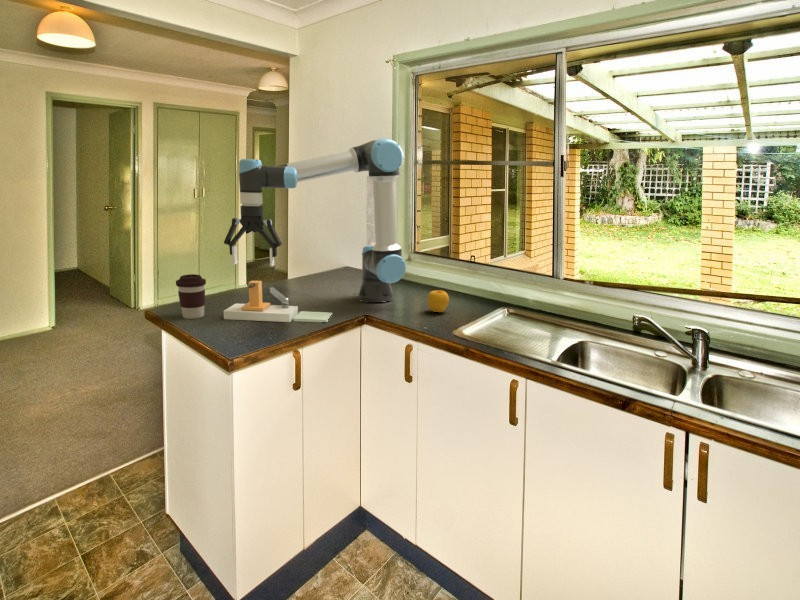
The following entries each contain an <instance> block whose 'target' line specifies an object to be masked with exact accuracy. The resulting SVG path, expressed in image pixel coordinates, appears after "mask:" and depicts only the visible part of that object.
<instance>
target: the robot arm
mask: <svg viewBox="0 0 800 600" xmlns="http://www.w3.org/2000/svg"><path fill="white" fill-rule="evenodd" d="M403 159H404V153H403V150H402V148H401V146H400V145H399V144H398V142H396V141H395V140H394V139H390V138H379V139H375V140H370V141H368V142H365V143H363V144H361V145H357V146H352V147H350V148H349V149H348V150H347V151H341V152H337V153H332V154H327V155H322V156H317V157H313V158H312V157H311V158H307V159H303V160H299V161H294V162H288V163H283V164H279V165H270V166H269V165H263V164H262V160H260V159H255V158H254V159H252V158H242V159H240V160H239V162H238V179H239V183H238V184H239V203H240V204H241V205H240V218H237V217H234V218H231V225H230V228H229V230H228V232H227V233H226V236H225V239H224V240H223V244H224V245H228V246H229V254H230V256H232V266H235V265H237V264H238V263H239V261H238V245H236V244H237V243H238V241H239V240H240V239H241V238H242V236H243V235H244V233H246V232H247V233H251V232H252V233H259V234H260V235H261V236H262V237H263V238H264V240H265V241H266V242H267V243H268V245H269V246H270V247H269V267H275V258H276V257H277V256H278V254H277V253H278V252H277V251H278V249H277V248H278V247H281V246H282V245H283V242H282V241H281V238H280V237H279V235H278V232H277V231H276V229H275V227H274V224H273V220H272V219H271V218H270V219H264V207H263V206H262V205H263V203H264V202H263V201H264V199H263V189H264V188H265V189H287V190H288V189H289V190H290V189H296V187H297V185H298V183H301V182H307V181H311V180H315V179H319V178H324V177H329V176H333V175H338V174H343V173H348V172H355V173H360V172H368V178H369V179H370V180H371V181H372V186H373V187H372V189H373V190H372V191H373V212H374V213H373V214H374V235H375V236H374V238H375V239H374V241H375V244H374V245H365V246H363V247H362V253H361V255H362V257H361V258H362V261H361V262H362V264H361V265H362V266H361V267H362V268H361V269H362V270H361V271H362V272H361V275H362V276H361V279H362V280H361V283H360V285H359V286H360V287H359V290H358V292H357V300H358V299H360V300H362V301H361V302H363V301H369V302H382V301H390V300H392V299H393V300H394V293H393V288H392V286H391V284H393V283H396V282H397V283H398V282H399V281H400V280H401V279H402V278H403V277H404V276H405V275H406V274H405V273H406V270H407V264H406V262H405V260H404V258H403V255H402V246H401V245H399V243H398V221H397V190H396V189H397V188H396V187H397V186H396V185H397V183H396V181H397V180H398V178H399V177H400V167H401V165H402V163H403ZM239 224H240V225H241V228H240V229H239V231H237V233H236V234H235V231H236V229H237V227H238V226H239ZM264 225H265V226H266V227H267V229H268V231H269V233H268V232H267V231H266V229H265V228H264ZM234 234H235V236H234ZM269 234H270V235H271V236H270V235H269ZM233 236H234V237H233ZM360 300H359V301H360ZM393 300H392V301H393ZM390 302H391V301H390Z"/></svg>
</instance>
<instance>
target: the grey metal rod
mask: <svg viewBox="0 0 800 600" xmlns="http://www.w3.org/2000/svg"><path fill="white" fill-rule="evenodd" d="M269 293H270V294H271V295H273V296H274V297H275V298H276V299H277V300H279V302H281V305H282V304H289V303H290V299H289V297H287V296H285V295H284V294H282V293H281V292H280V291H279V290H277V289H276V288H275V287H273V286H272V287H269Z"/></svg>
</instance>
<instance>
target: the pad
mask: <svg viewBox="0 0 800 600" xmlns="http://www.w3.org/2000/svg"><path fill="white" fill-rule="evenodd" d="M331 315H332V316H333V312H329V311H328V312H326V311H304V310H303V311H302V310H301V311H299V312H298V314H297V315H296V316H295V317H294V318H293V319H292V320H293V322H302V323H305V322H307V323H322V322H327V323H328V321H329V320H330V319H331V318H330V316H331ZM332 316H331V317H332ZM329 318H330V319H329ZM328 319H329V320H328Z"/></svg>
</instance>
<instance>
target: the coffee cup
mask: <svg viewBox="0 0 800 600" xmlns="http://www.w3.org/2000/svg"><path fill="white" fill-rule="evenodd" d="M206 284H207V280H206V279H205V278H203V277H202V276H201V274H192V273H191V274H183V275H181V276H179V279H176V280H175V286H176V287H177V288H178V291H177V293H178V300H179V305H180V307H181V314H182V317H183V318H184V319H188V320H193V319H194V320H195V319H199V318H203V317H204V316H205V304H206V289H205V285H206Z"/></svg>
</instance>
